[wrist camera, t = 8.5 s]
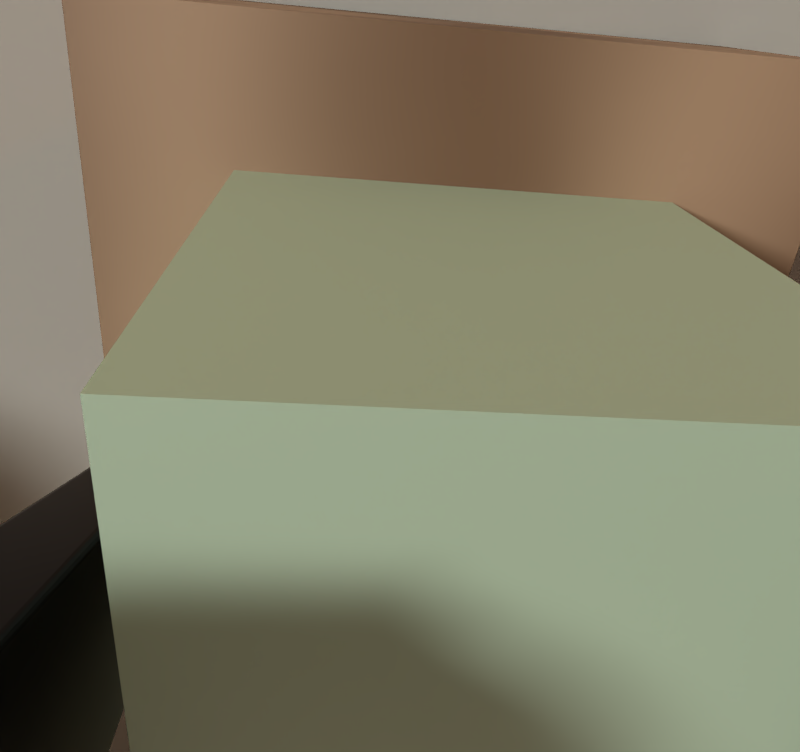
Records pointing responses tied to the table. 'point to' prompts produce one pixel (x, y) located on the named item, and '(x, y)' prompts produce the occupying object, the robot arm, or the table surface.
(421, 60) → the walnut base
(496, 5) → the table surface
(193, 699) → the green cube
